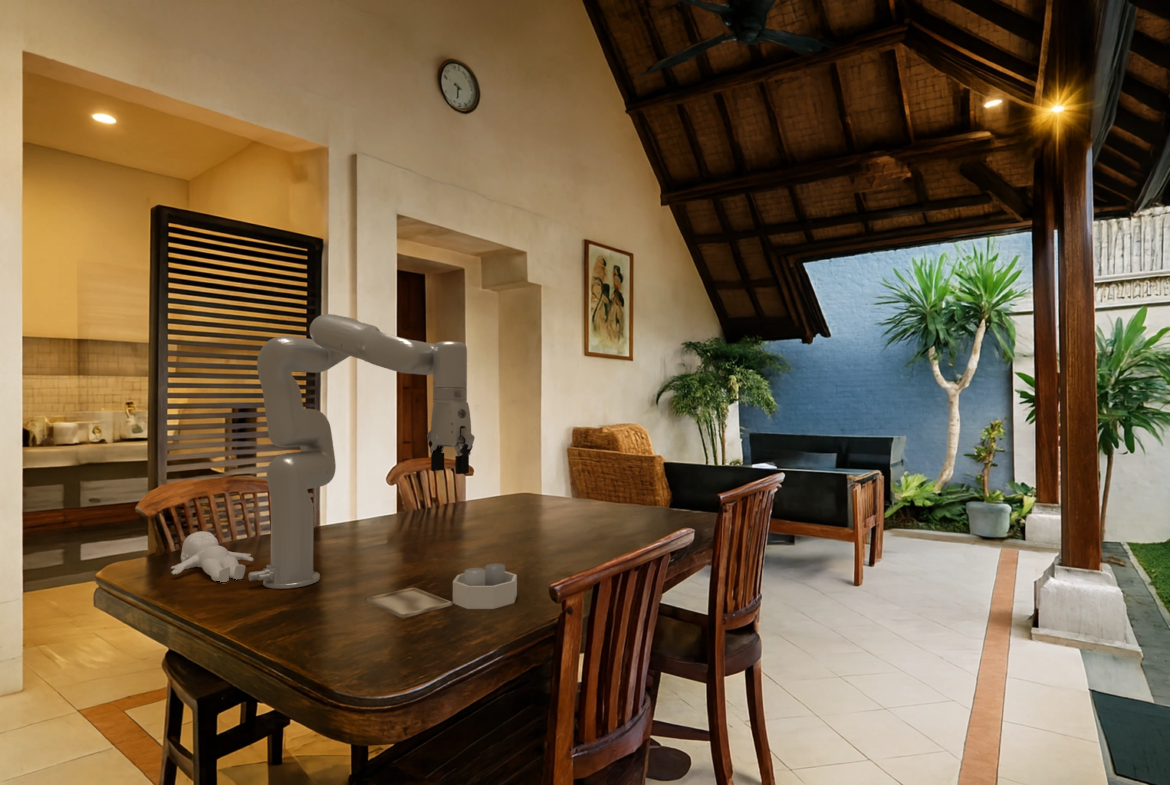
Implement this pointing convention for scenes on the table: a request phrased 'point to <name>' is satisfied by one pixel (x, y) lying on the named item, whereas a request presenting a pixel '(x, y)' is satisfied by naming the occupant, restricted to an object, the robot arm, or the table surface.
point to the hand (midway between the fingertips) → (449, 472)
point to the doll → (211, 557)
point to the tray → (408, 602)
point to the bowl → (484, 593)
